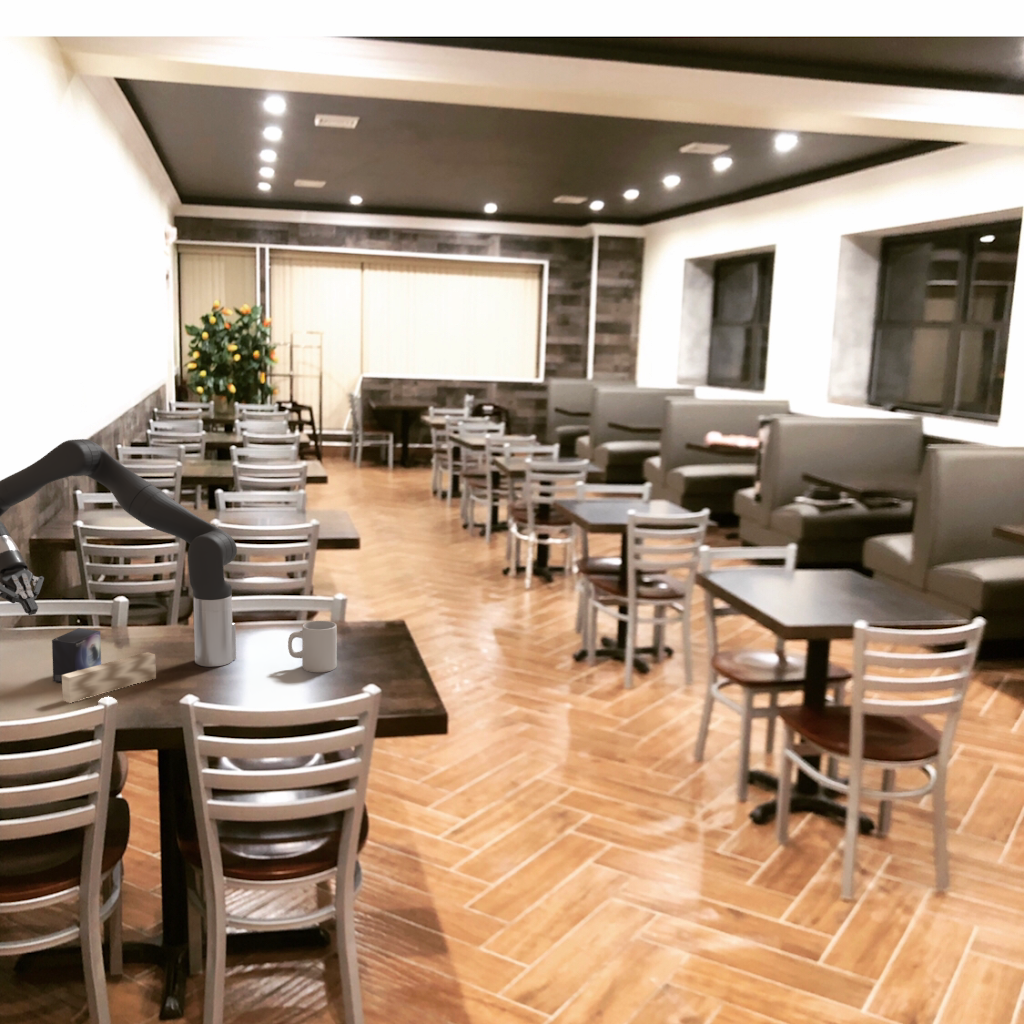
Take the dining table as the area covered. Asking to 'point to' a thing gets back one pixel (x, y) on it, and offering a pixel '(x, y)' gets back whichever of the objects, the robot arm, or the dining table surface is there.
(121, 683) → the maple board
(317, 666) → the mug
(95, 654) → the small box
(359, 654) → the dining table surface
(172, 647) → the dining table surface
